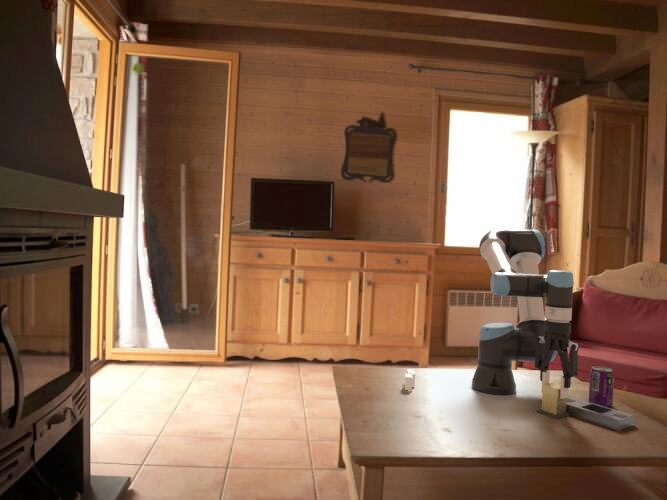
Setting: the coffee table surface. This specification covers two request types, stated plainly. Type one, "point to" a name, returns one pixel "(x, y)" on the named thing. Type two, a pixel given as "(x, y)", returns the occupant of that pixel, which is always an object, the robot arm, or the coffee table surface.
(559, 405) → the yellow rectangular block
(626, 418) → the rack rail
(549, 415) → the rubber mat
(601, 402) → the beverage can
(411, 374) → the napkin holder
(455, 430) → the coffee table surface
